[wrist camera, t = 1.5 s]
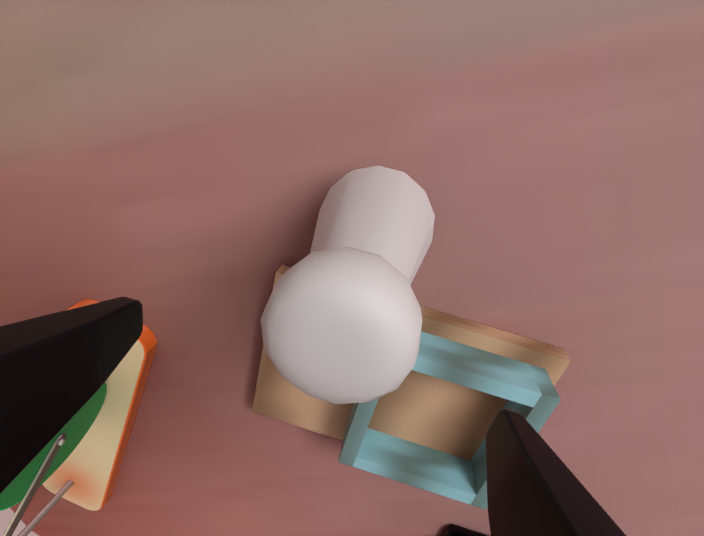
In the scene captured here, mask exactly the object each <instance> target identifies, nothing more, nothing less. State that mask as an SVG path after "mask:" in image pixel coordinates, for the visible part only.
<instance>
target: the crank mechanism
mask: <svg viewBox="0 0 704 536" xmlns="http://www.w3.org/2000/svg"><path fill="white" fill-rule="evenodd" d="M95 303H99V302H98V301H95V300H92V299H85V300H82V301H80V302H78V303H77V304H75V305H73V306H71V307H70V308H68V309H67V310H70V309H74V308H78V307H82V306H86V305H91V304H95ZM156 349H157V341H156V337H155V336H154V334H153V332H152V331H151V330H150V329H149V328H148V327H146V326H145V325H143V331H142V334H141V336H140V337H139V339H138V340H137V341H136V343H135V344H134V345H133V347H132V348H131V349H130V350H129V352H128V353H127V354H126V356H125V357H124V358H123V359H122V361H121V362H120V363H119V365H118V366H117V367H116V369H115V370H114V371H113V372H112V374H111V375H110V376H109V378H108V379H107V380H106V381H105V383H104V384H103V385H102V386H101V387H100V389H99V390H98V391H97V392H96V393H95V394H94V395H93V396H92V397H91V398H90V400H89V401H88V402H87V403H86V404H85V405H84V406H83V407H82V408H81V409H80V410H79V411H78V412H77V413H76V414H75V415H74V417H73V418H72V419H71V420H70V421H69V422H68V423H67V424H66V425H65V426H64V427H63V428H62V429H61V430H60V431H59V432H58V433H57V435H56V436H55V437H54V438H53V439H52V440H51V441H50V442H49V443H48V444H47V445H46V446H45V447H44V448H43V449H42V450H41V452H40V453H39V454H38V455H37V456H36V457H35V458H34V459H33V460H32V461H31V462H30V463H29V464H28V465H27V466H26V467H25V468H24V470H23V471H22V472H21V473H20V474H19V475H18V476H17V477H16V478H15V479H14V480H13V481H12V482H11V483H10V484H9V485H8V487H7V488H6V489H5V490H4V491H3V492H2V493H1V494H0V511H1V510H5V509H7V508H10V507H12V506H14V505H15V504H17V503H19V502H20V501H21V503H20V505H19V507H18V509H17V511H16V512H15V514H14V516H13V518H12V520H11V521H10V523H9V525H8V527H7V529H6V531H5V532H4V534H3V536H12V534H13V532H14V530H15V528H16V527H17V525H18V523H19V521H20V520H21V518H22V516H23V514H24V512H25V510H26V509H27V507H28V505H29V503H30V501H31V500H32V498H33V496H34V494H35V492H36V490H37V489H38V487H39V486H41V485H42V484H43V486H44V487H45V488H46V489H47V490H49V491H50V492H52V493H54V494H56V495H55V496H54V497H53V498H52V499H51V500H50V501H49V502H48V503H47V504H46V506H45V507H44V508H43V509H42V510H41V511H40V512H39V513H38V514H37V515H36V516H35V517H34V518H33V520H32V521H31V522H30V523H29V524H28V525H27V526H26V527H25V528H24V529H23V531H21V533H20V534H19V535H18V536H27V535H28V534H29V532H30V531H31V530H32V529H33V528H34V527H35V526H36V525H37V524H38V523H39V521H40V520H41V519H42V518H43V517H44V516H45V515H46V514H47V513H48V511H49V510H50V509H51V508H52V507H53V506H54V505H55V504H56V503H57V502H58V500H59V499H60V498H61V497H62V498H64V499H66V500H68V501H70V502H73V503H75V504H77V505H79V506H81V507H83V508H85V509H88V510H92V511H97V510H100V509H102V507H103V506H104V505H105V503H106V502H107V501H108V500H109V498H110V497H111V495H112V492H113V489H114V486H115V483H116V479H117V476H118V473H119V470H120V466H121V463H122V460H123V456H124V453H125V450H126V447H127V443H128V440H129V437H130V434H131V430H132V427H133V424H134V421H135V417H136V414H137V411H138V407H139V404H140V401H141V398H142V394H143V391H144V388H145V385H146V381H147V378H148V375H149V372H150V368H151V365H152V362H153V358H154V355H155V352H156Z"/></svg>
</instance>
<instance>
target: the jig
mask: <svg viewBox="0 0 704 536" xmlns="http://www.w3.org/2000/svg"><path fill="white" fill-rule="evenodd" d="M290 268H291V267H289V266H286V265H281V267H280V268H279V269H278V270H277V271H276V273H275V279H274V285H273V289H274V287H275V285H276V283H277V281H278V279H279V278H280V277H281V276H282V275H283V274H284V273H285V272H286V271H287V270H288V269H290ZM272 292H273V291H272ZM420 308H421V314H422V328H421V336H420V345H419V352H418V355H417V359H416V362H415V366H414V367H413V368H412V370H411V371H410V372H409V374H408V375H407V377H406V378H405V379H404V381H403V382H402V383H401V385H400V386H399V387H398V389H396V390H394V391H392V392H390V393H388V394H385V395H383V396H381V397H379V398H377V399H375V400H372V401H370V402H364V403H348V404H333V403H330V402H327V401H324V400H320V399H317V398H314V397H311V396H308V395H307V394H305V393H304V392H302V391H301V390H300V389H298V388H297V387H295V386H294V385H293V384H291V383H290V382H288V381H287V380H286V379H284V378H283V377H282V376H281V375H280V374H279V372H278V371H277V369H276V367H275V366H274V364H273V362H272V361H271V359H270V358H269V356H268V354H267V353H266V351H265V350H264V344H263V349H262V355H261V361H260V367H259V373H258V378H257V384H256V390H255V396H254V402H253V408H252V412H254V413H257V414H261V415H264V416H267V417H270V418H273V419H276V420H279V421H282V422H286V423H289V424H292V425H295V426H298V427H301V428H304V429H307V430H311V431H314V432H317V433H320V434H323V435H326V436H329V437H332V438H336V439H339V440H342V441H343V442H342V447H341V451H340V456H339V460H338V462H340V463H343V464H346V465H349V466H352V467H355V468H358V469H362V470H365V471H368V472H371V473H374V474H377V475H380V476H383V477H386V478H389V479H393V480H396V481H399V482H402V483H405V484H408V485H411V486H414V487H417V488H420V489H424V490H427V491H430V492H433V493H436V494H439V495H442V496H445V497H448V498H451V499H455V500H458V501H461V502H464V503H467V504H470V505H473V506H476V507H479V508H482V509H486V508H487V506H488V504H487V476H486V434H487V431H488V429H489V427H490V426H491V424H492V422H493V420H494V419H495V417H496V415H497V413H498V412H499V411H500V410H501V409H503V408H506V409H509V410H513V411H516V412H519V413H520V414H522V415H523V417H524V418H525V419H526V420H527V421H528V422H529V424H530V425H531V426H532V427H533V428H534V429H535V430H536V432H537V433H538V432H539V431H540V429H541V428H542V426H543V425H544V423H545V422H546V420H547V419H548V417H549V416H550V415H551V413H552V412H553V410H554V409H555V407H556V406H557V404H558V403H559V401H560V398H559V396H558V394H557V392H556V390H555V388H554V386H555V384H556V383H557V381H558V380H559V378H560V377H561V375H562V374H563V372H564V371H565V369H566V368H567V366H568V364H569V363H570V359H569V358H568V356H567V354H566V353H565V351H564V349H562V348H559V347H556V346H552V345H549V344H546V343H542V342H539V341H536V340H532V339H529V338H526V337H522V336H519V335H516V334H512V333H509V332H506V331H502V330H499V329H496V328H492V327H489V326H486V325H482V324H479V323H476V322H472V321H469V320H466V319H462V318H459V317H456V316H452V315H449V314H446V313H442V312H439V311H436V310H432V309H429V308H426V307H422V306H420Z"/></svg>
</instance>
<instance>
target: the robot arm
mask: <svg viewBox="0 0 704 536" xmlns="http://www.w3.org/2000/svg"><path fill="white" fill-rule="evenodd" d="M142 331H143V312H142V304H141V302H140V301H138V300H135V299H131V298H128V297H119V298H115V299H111V300H107V301H103V302H99V303H95V304H91V305H86V306H82V307H78V308H74V309H70V310H66V311H62V312H58V313H53V314H49V315H45V316H41V317H37V318H33V319H29V320H25V321H21V322H16V323H12V324H8V325H4V326H0V494H1V493H2V492H3V491H4V490H5V489H6V488H7V487H8V485H9V484H10V483H11V482H12V481H13V480H14V479H15V478H16V477H17V476H18V475H19V474H20V473H21V472H22V471H23V470H24V468H25V467H26V466H27V465H28V464H29V463H30V462H31V461H32V460H33V459H34V458H35V457H36V456H37V455H38V454H39V453H40V452H41V450H42V449H43V448H44V447H45V446H46V445H47V444H48V443H49V442H50V441H51V440H52V439H53V438H54V437H55V436H56V435H57V433H58V432H59V431H60V430H61V429H62V428H63V427H64V426H65V425H66V424H67V423H68V422H69V421H70V420H71V419H72V418H73V417H74V415H75V414H76V413H77V412H78V411H79V410H80V409H81V408H82V407H83V406H84V405H85V404H86V403H87V402H88V401H89V400H90V398H91V397H92V396H93V395H94V394H95V393H96V392H97V391H98V390H99V389H100V387H101V386H102V385H103V384H104V383H105V381H106V380H107V379H108V378H109V376H110V375H111V374H112V372H113V371H114V370H115V369H116V367H117V366H118V365H119V363H120V362H121V361H122V359H123V358H124V357H125V356H126V354H127V353H128V352H129V350H130V349H131V348H132V347H133V345H134V344H135V343H136V341H137V340H138V339H139V337H140V336H141V334H142ZM486 476H487V504H488V515H489V523H490V531H491V536H626V535H625V534H624V532H623V531H622V530H621V529H620V528H619V527H618V526H617V524H616V523H615V522H614V521H613V520H612V519H611V517H610V516H609V515H608V514H607V513H606V512H605V510H604V509H603V508H602V507H601V506H600V505H599V504H598V502H597V501H596V500H595V499H594V498H593V497H592V495H591V494H590V493H589V492H588V491H587V490H586V488H585V487H584V486H583V485H582V484H581V483H580V481H579V480H578V479H577V478H576V477H575V476H574V475H573V473H572V472H571V471H570V470H569V469H568V468H567V466H566V465H565V464H564V463H563V462H562V461H561V459H560V458H559V457H558V456H557V455H556V454H555V453H554V451H553V450H552V449H551V448H550V447H549V446H548V444H547V443H546V442H545V441H544V440H543V439H542V437H541V436H540V435H539V434H538V433H537V432H536V430H535V429H534V428H533V427H532V426H531V425H530V424H529V422H528V421H527V420H526V419H525V418H524V417H523V415H522V414H520V413H519V412H516V411H513V410H509V409H506V408H503V409H501V410H500V411H499V412H498V413H497V415H496V417H495V419H494V420H493V422H492V424H491V426H490V427H489V429H488V431H487V434H486ZM443 536H484V535H481V534H478V533H475V532H472V531H469V530H466V529H463V528H460V527H457V526H449V527H448V528H447V529H446V531H445V533H444V534H443Z"/></svg>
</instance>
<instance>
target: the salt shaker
mask: <svg viewBox="0 0 704 536" xmlns="http://www.w3.org/2000/svg"><path fill="white" fill-rule="evenodd" d="M434 219H435V215H434V212H433V210H432V207H431V205H430V202H429V200H428V197H427V195H426V192H425V191H424V190H423V189H422V188H421V187H420V186H419V185H418V184H417V183H416V182H415V181H413V180H412V179H411V178H410V177H409V176H408V175H407V174H406V173H405V172H402V171H398V170H394V169H390V168H386V167H382V166H373V167H368V168H362V169H356V170H351V171H350V172H348V173H347V174H346V175H345V176H344V177H342V178H341V179H340V180H339V181H338V182H336V183H335V184H334V185H333V186H331V188H330V190H329V192H328V194H327V196H326V198H325V200H324V202H323V204H322V206H321V208H320V210H319V215H318V219H317V224H316V228H315V233H314V237H313V242H312V246H311V251H310V254H309V255H307V256H306V257H305V258H303V259H302V260H301V261H299V262H298V263H296V264H295V265H294V266H292V267H291V268H290V269H288V270H287V271H286V272H285V273H284V274H283V275H282V276H281V277H280V278H279V279H278V281H277V283H276V285H275V287H274V289H273V292H272V294H271V296H270V298H269V300H268V302H267V305H266V307H265V309H264V312H263V315H262V317H261V328H262V336H263V344H264V350H265V351H266V353H267V354H268V356H269V358H270V359H271V361H272V362H273V364H274V366H275V367H276V369H277V371H278V372H279V374H280V375H281V376H282V377H283V378H284V379H286V380H287V381H288V382H290V383H291V384H293V385H294V386H295V387H297V388H298V389H300V390H301V391H302V392H304V393H305V394H307V395H308V396H311V397H314V398H317V399H320V400H324V401H327V402H330V403H333V404H348V403H364V402H370V401H372V400H375V399H377V398H379V397H381V396H383V395H385V394H388V393H390V392H392V391H394V390H396V389H398V387H399V386H400V385H401V383H402V382H403V381H404V379H405V378H406V377H407V375H408V374H409V372H410V371H411V370H412V368H413V367H414V366H415V362H416V359H417V355H418V352H419V345H420V336H421V328H422V314H421V308H420V305H419V303H418V301H417V299H416V297H415V295H414V292H413V290H412V288H411V286H410V285H411V283H412V281H413V279H414V277H415V275H416V273H417V271H418V269H419V267H420V265H421V263H422V261H423V259H424V256H425V254H426V252H427V250H428V248H429V246H430V244H431V242H432V237H433V228H434Z"/></svg>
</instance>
